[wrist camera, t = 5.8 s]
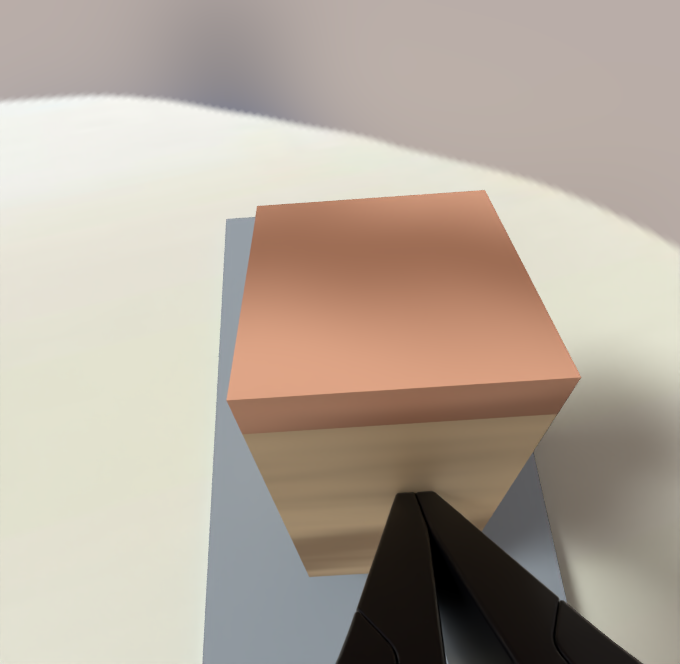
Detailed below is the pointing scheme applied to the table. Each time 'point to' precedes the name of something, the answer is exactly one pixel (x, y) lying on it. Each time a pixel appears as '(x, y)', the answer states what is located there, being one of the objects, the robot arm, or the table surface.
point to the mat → (278, 548)
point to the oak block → (389, 365)
